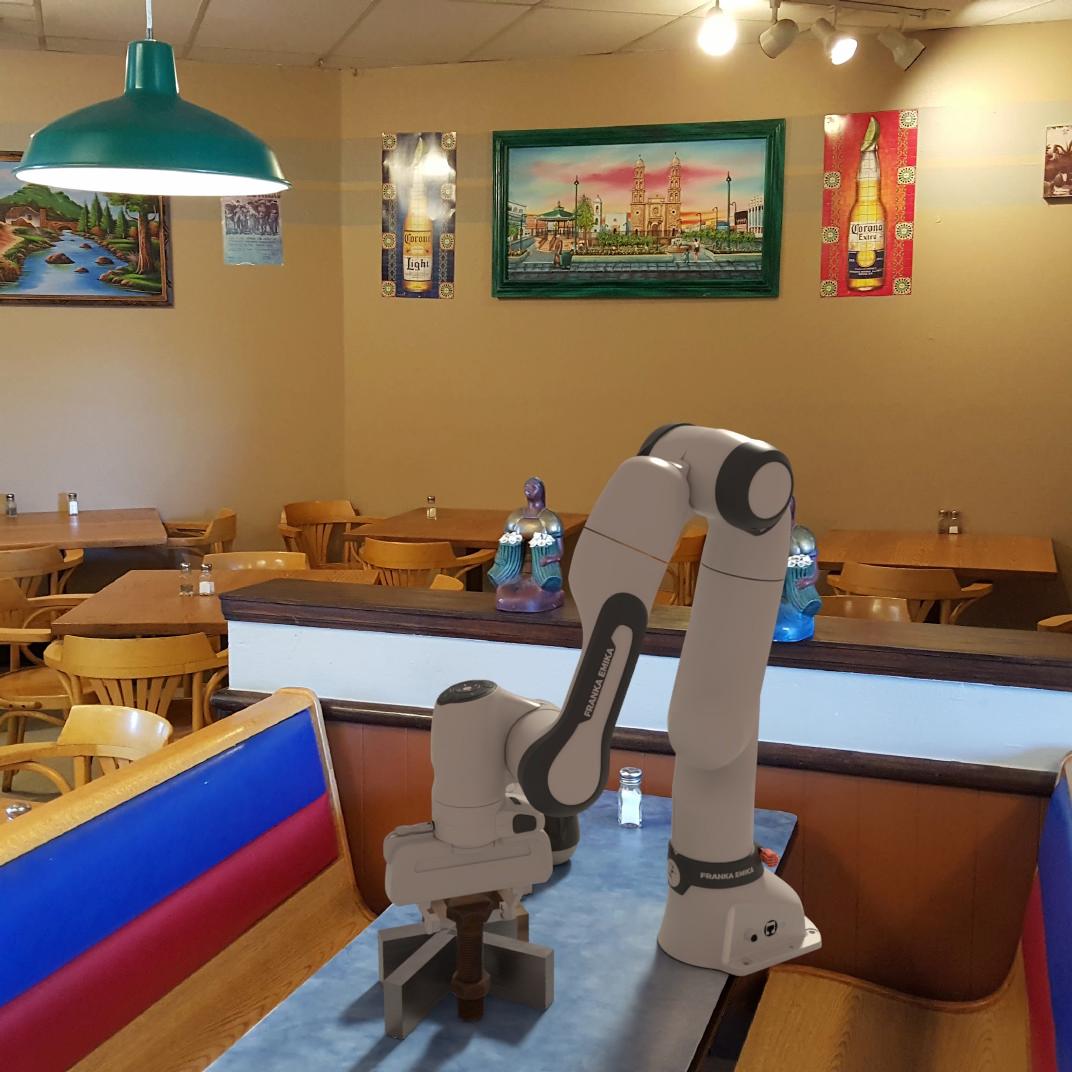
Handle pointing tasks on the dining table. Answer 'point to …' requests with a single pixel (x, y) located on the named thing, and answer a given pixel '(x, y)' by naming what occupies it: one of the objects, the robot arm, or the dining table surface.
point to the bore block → (496, 898)
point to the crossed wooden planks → (431, 960)
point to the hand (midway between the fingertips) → (470, 924)
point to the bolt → (470, 953)
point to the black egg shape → (562, 836)
